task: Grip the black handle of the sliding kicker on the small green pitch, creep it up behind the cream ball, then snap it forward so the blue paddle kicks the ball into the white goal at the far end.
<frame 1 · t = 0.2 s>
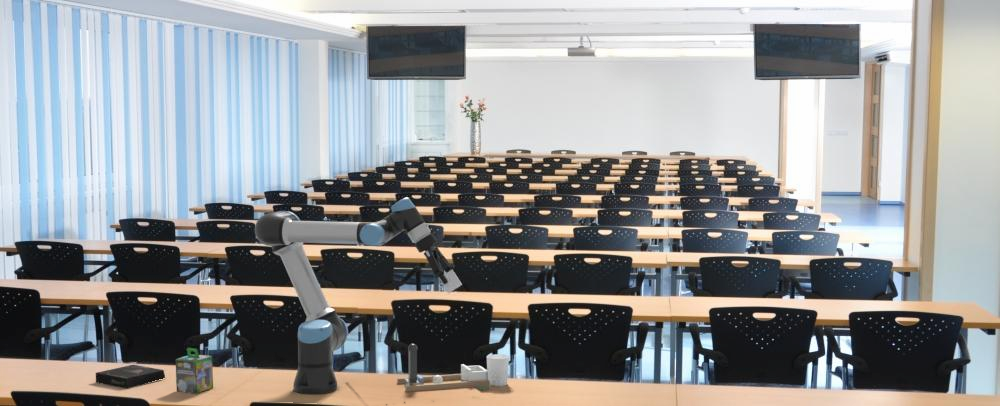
hand: (455, 289, 389), 35 cm above the table, tool tilted 35°, fingers open, 13 cm apart
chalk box: (194, 390, 385), on the table
white cup: (497, 384, 395), on the table
ball: (437, 380, 389), point 3 cm above the table, touching pitch
flat black box: (130, 382, 398), on the table
kicker: (414, 365, 385), point 9 cm above the table, slide at 0.0 cm
goal: (474, 385, 393), resting on pitch
pitch: (443, 387, 389), on the table
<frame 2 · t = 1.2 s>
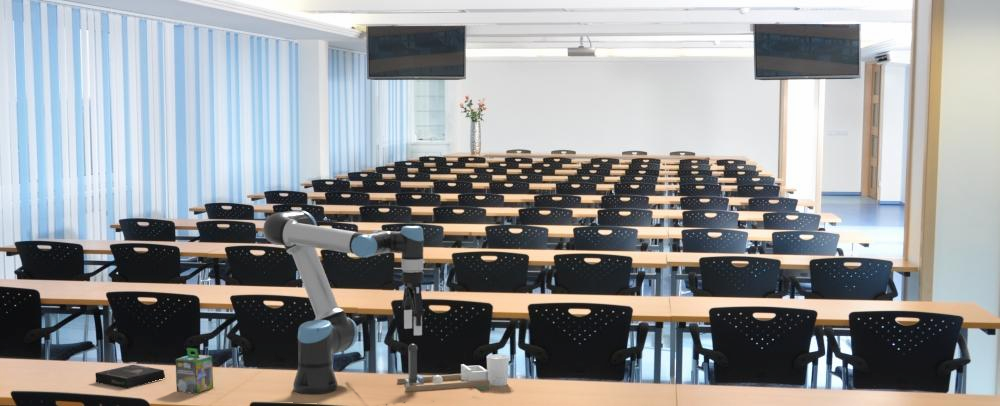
hand: (412, 331, 385), 21 cm above the table, tool pointing down, fingers open, 13 cm apart
nothing on the table moved.
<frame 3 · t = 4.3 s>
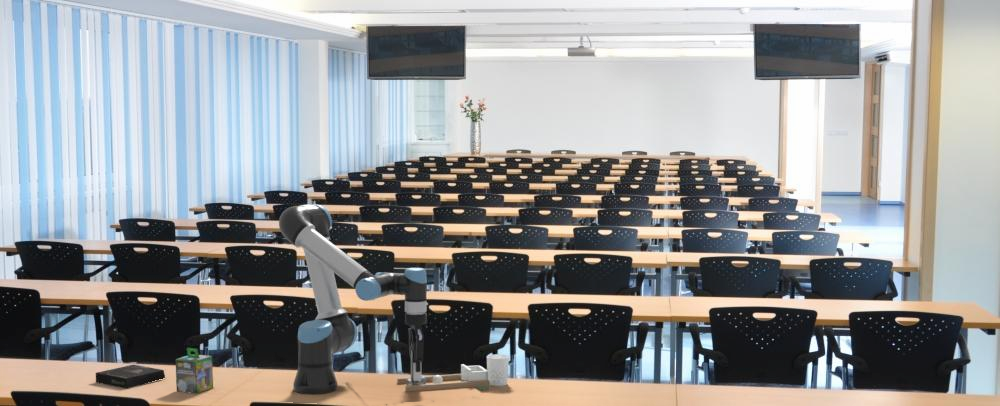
hand: (416, 379, 386), 4 cm above the table, tool pointing down, fingers open, 3 cm apart
kicker: (416, 364, 386), point 9 cm above the table, slide at 0.8 cm, touching gripper
everything else where it was.
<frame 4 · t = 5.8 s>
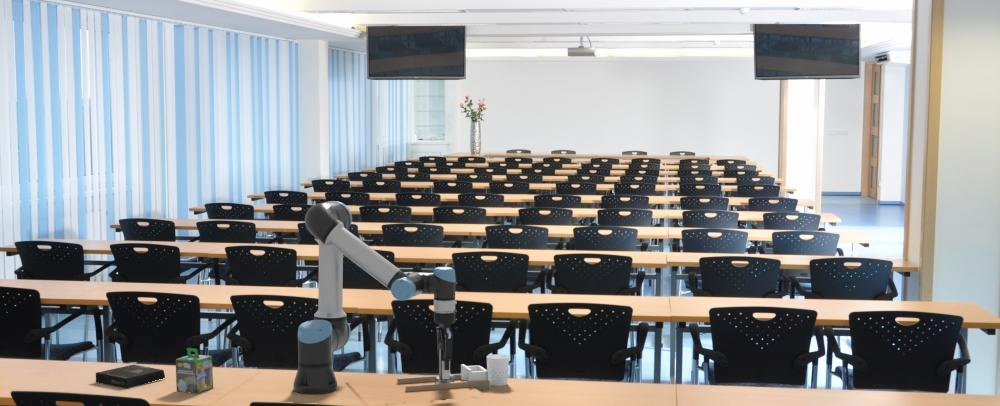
hand: (444, 377, 389), 4 cm above the table, tool pointing down, fingers closed on kicker, 3 cm apart
ball: (475, 377, 393), point 3 cm above the table, tilted 65°, touching pitch
kicker: (445, 362, 389), point 9 cm above the table, slide at 11.1 cm, touching gripper
everything else where it was.
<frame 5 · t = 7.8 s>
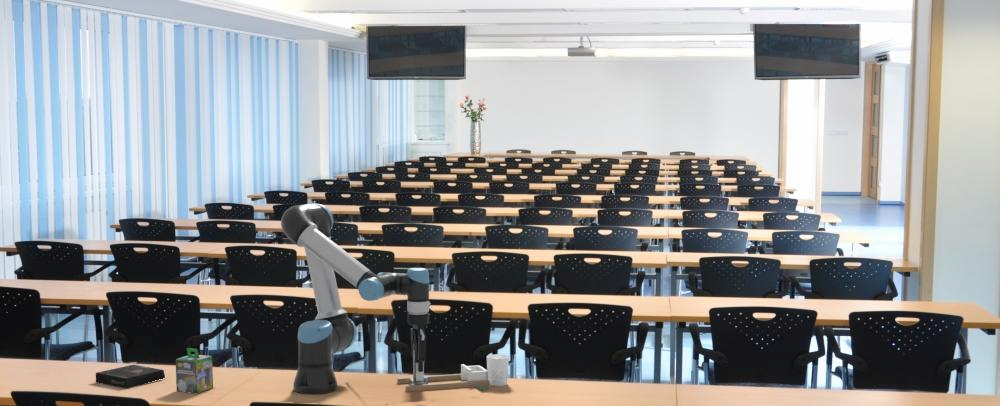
hand: (418, 379, 386), 4 cm above the table, tool pointing down, fingers closed on kicker, 2 cm apart
ball: (472, 377, 393), point 3 cm above the table, tilted 24°, touching pitch
kicker: (419, 364, 386), point 9 cm above the table, slide at 1.6 cm, touching gripper
everything else where it was.
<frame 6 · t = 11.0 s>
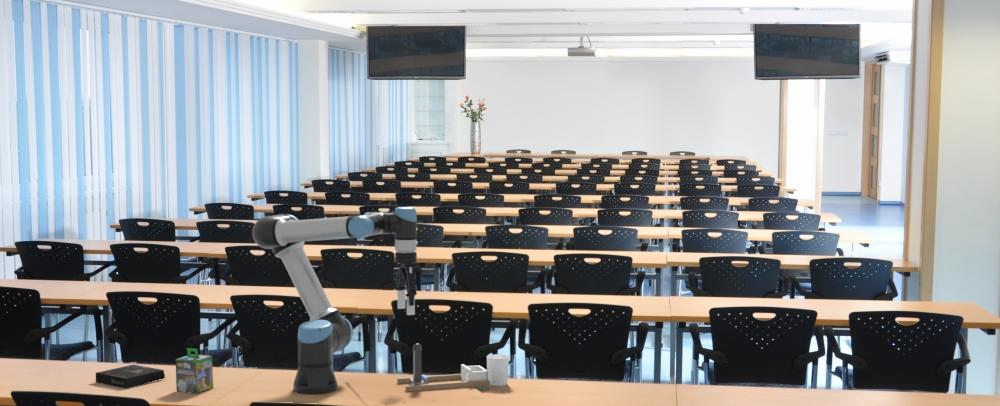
hand: (406, 311, 389), 27 cm above the table, tool pointing down, fingers open, 13 cm apart
ball: (466, 378, 392), point 3 cm above the table, tilted 43°, touching pitch
kicker: (419, 364, 386), point 9 cm above the table, slide at 1.6 cm
everything else where it was.
at the end: ball inside the target area (2.6 cm from its centre), point 2.8 cm above the table; the gripper is holding nothing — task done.
